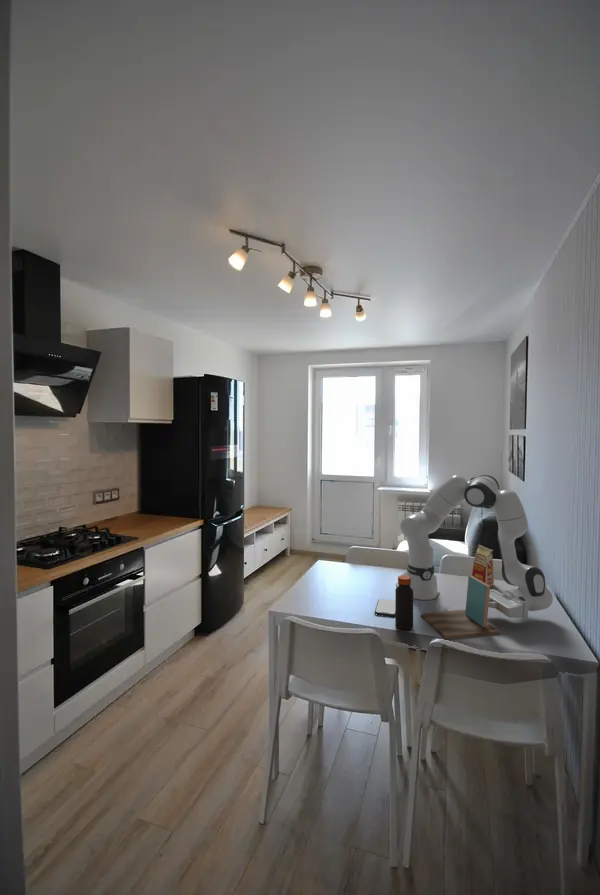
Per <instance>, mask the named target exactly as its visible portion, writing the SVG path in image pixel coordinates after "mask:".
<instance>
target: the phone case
mask: <svg viewBox="0 0 600 895" xmlns="http://www.w3.org/2000/svg"><path fill="white" fill-rule="evenodd" d="M375 606H376V607H375V609H374V610H375V611H374V615H375V614H377V615H376V616H378V615H383V616H382V617H386V616H389V618H395V599H393V600H392V599H384V598H383V599H382V598H379V599H377V603H376V605H375Z"/></svg>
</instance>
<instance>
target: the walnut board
mask: <svg viewBox="0 0 600 895" xmlns="http://www.w3.org/2000/svg"><path fill="white" fill-rule="evenodd" d="M465 611H466V608H464V609H456V610H445V611H436V612H423V613H420V617H421V618H422V619H423V620H424V621H425V622H426V623H427V624H428V625H429V626H431V627H432V628H433V630H435V631H436V632H437V633H439V635H440V636H441V637H443V639H445V640H453V639H460V638H461V639H464V638H473V637H474V638H475V637H481V636H482V637H483V636H492V635H499V634H500V630H499V629H498V628H496V627H495V626H493V625H492V624H491V623H489V622H488V621H487V627H482V626H481V625H479V624H478V623H477V622H475V621H474V620H473V619H471V618H470V617H469V616H467V615H466V614H465Z"/></svg>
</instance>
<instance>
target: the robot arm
mask: <svg viewBox="0 0 600 895" xmlns="http://www.w3.org/2000/svg"><path fill="white" fill-rule="evenodd" d="M463 501H466V503H467V504H468V505H469V506H472V507H474V508H483V509H492V510H493V511H494V515H495V519H496V522H497V525H498V526H497V528H498V530H497V541H498V548H499V552H500V558H501V577H502V579H503V581H504V582H505V583H506V584H508V585H509V586H514V587H517V588H515V589H505V590H504V591H503V593H501V592H500V591H498V590H497V589H492V588H490V595H489V606H488V608H490V609H495V610H497V611H498V612H500V613H501V614H503V615H505V616H506V617H507V618H513V619H514V618H515V619H516V618H524V619H526V618H528V616H529V612H536V611H541V610H543V611H544V610H546V609H548V608H550V607H551V606H552V604H553V600H554V598H553V594H552V592H551V590H549V588H548V587H547V585H546V584H547V583H546V577H545V574H544V572H543V570H542V569H541V568H538V567H536V566H532V565H529V564H524V563H521V561H519V559H518V557H517V550H516V547H515V546H516V545H515V541H516V539H518V538H521V537H522V536H523V535H525V534H526V532H527V531H528V529H529V522H528V517H527V516H526V512H525V509H524V506H523V503H522V502H521V500H520V498H519V496H518V494H517V493H516V492H515V490H511V489H502V490H501V489H500V485H499V482H498V481H497V479H496V478H495V477H494V476H492V475H488V474H487V475H486V474H485V475H483V474H482V475H479V476H474V477H471V478H470V479H467V478H466V477H464V476H462V475H459V474H454V475H452V476H450V477H449V478H447V479H446V480H445V481H444V482H443V483H442V484H440V485H439V487H438V488H437V489H436V490H435V491H434V492H432V493H431V495H430V496H429V497H428V498H427V500H426V503H425V505H424V506H423V508H422V509H421V510H419V511H418V512H415V513H411V514H408V515H407V516H406V517H404V518H403V519H402V520H401V521H400V526H399V528H400V531H401V533H402V535H404V537H405V538H406V542H407V545H408V562H407V563H406V565H407V566H406V568H407V569H406V570H405V571H404V572H402V574H401V575H406V576H409V577H411V585H410V587H411V588H412V589H413V600H414V599H415V600H419V601H420V600H421V601H428V600H433V599H436V598H437V596H438V595H440V590H439V589H438V579H437V576H436V575H435V565H434V548H433V547H432V546H431V544H430V541H429V535H430V534H433V533H435V532H436V531H437V530H438V529H439V528H440V527H441V525H442V524H443V522H444V521H445V519H447V516H449V514H451V513H452V511H454V510H455V508H456V507H457V506H458V505H459V504H461V502H463ZM396 586H397V587H398V586H399V584H398V582H397V583H395V587H396ZM397 587H396V588H397Z"/></svg>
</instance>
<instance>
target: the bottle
mask: <svg viewBox="0 0 600 895" xmlns="http://www.w3.org/2000/svg"><path fill="white" fill-rule="evenodd" d="M397 583H398V584H399V586H398V587H396V588H395V591H394V592H395V599H394V601H395V617H394V619H395V620H394V621H395V622H394V623H395V625H394V626H395V628H396V629H397V630H398V631H402V632H410V631H412V630H413V629H414V598H413V589H412V588H411V587H410V585H411V577H409V576H406V575H402V574H401V575H399V576H398V577H397Z"/></svg>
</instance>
